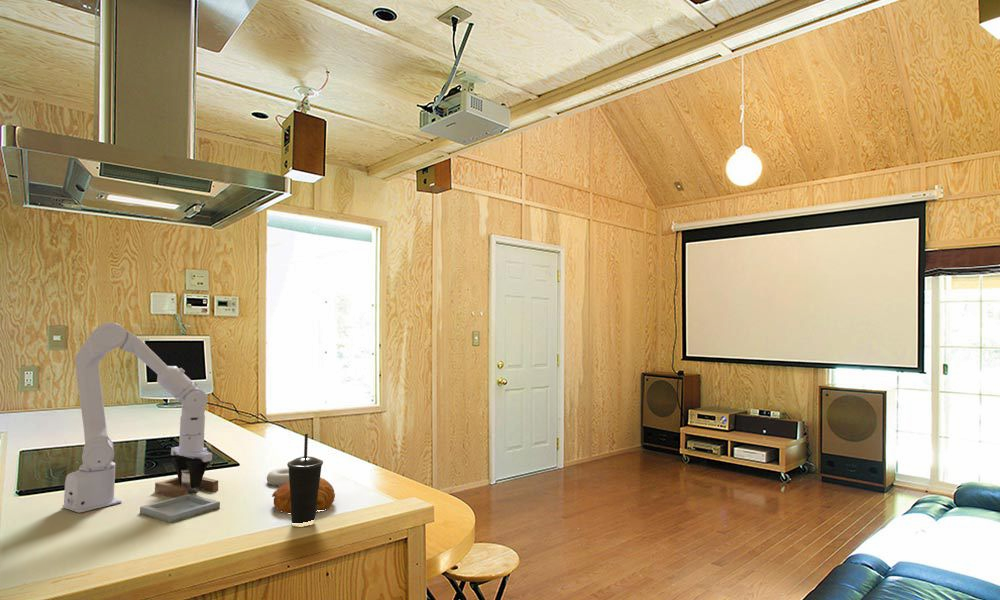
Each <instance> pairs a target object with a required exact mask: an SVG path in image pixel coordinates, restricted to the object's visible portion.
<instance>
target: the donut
mask: <svg viewBox="0 0 1000 600" xmlns="http://www.w3.org/2000/svg"><path fill="white" fill-rule="evenodd" d="M266 481H267V483H268V485H269V484H270V485H271V486H274V487H280V486H281V485H283V484H285V483H287V482H289V467H280V468H276V469H273V470H271V471H269V472H268V474H267V476H266Z"/></svg>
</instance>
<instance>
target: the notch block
mask: <svg viewBox="0 0 1000 600" xmlns="http://www.w3.org/2000/svg"><path fill="white" fill-rule="evenodd" d="M198 489H202V490H205V491H209V492H216V491H219V480H217V479H213V478H209V477H205V476H203V478H202V481H201V484H200V487H198ZM154 493H155V494H159V495H162V496H166V497H170V498H175V497H179V496H183V495H187V494H188V488H185V487H181V485H180V483H179V479H178V477H173V478H171V479H166V480H162V481H158V482H154Z"/></svg>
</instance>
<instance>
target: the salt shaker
mask: <svg viewBox="0 0 1000 600" xmlns="http://www.w3.org/2000/svg"><path fill="white" fill-rule="evenodd" d="M181 472H182V480H181V487H185V488H188V494H192V495H194V494H197V493H199V488H198V487H196V488H191V485H190V473H189V469H188V467H187V468H183V469H181ZM193 493H194V494H193Z"/></svg>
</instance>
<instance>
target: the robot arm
mask: <svg viewBox="0 0 1000 600" xmlns="http://www.w3.org/2000/svg"><path fill="white" fill-rule="evenodd" d="M119 347H120V351H124V352H127V353H131V354H134V355H135V356H136V357H137V358H138V359H139V360H141V361H142V362H143V363H144V364H145V365H146V366H147V367H149V369H151V370H152V371H153V372H154V373H155V374H156V375H157V379H156V383H157V384H159V385H160V386H161V387H162V388H163V389H165V390H166V392H168V393H169V394H170V395H171V396H172V397H173V398H174V399H176V400H179V403H180V405H182V406H181V415H180V421H179V439H178V441H179V443H178V446H175V447H171V448H170V449H171V450H170V455H171V456H176V457H174V458H171V460H170V461H171V463H172V465H173V466H174V468H175V472H176V474H177V478H178V479H179V483H180V485H181V480H182V472H181V469H183V468H187V467H188V469H189V473H190V485H191V488H196V487H200V484H201V481H202V478H203V477H204V474H205V472H206V470H207V468H208V467H209V465H210V463H211V461H213V453H212V452H210V451H208V447H204V446H205V426H206V425H205V422H206V415H205V411H206V409H205V407H206V406H207V404H208V401H209V399H208V397H207V394H206V393H205V392H204V391H203V390H202V389H201V387H200V386H198V385H199V383H197V381H193V380H192V379H190V377H189V376H188V375H186V374H185V372H186V370H185V369H183V368H182V367H180V368H179V367H178V366H177V365H167V364H166V363H165V362H164V361H163V360H162V359H161V358H160V357H159V356H158V354H156V353H155V352H154V351H153V350H152V349H151V348H150V347H149V346H148V345H147V344H146V343H145V342H144V341H142V339H141V338H139V337H138V336H136V335H135V334H134V333H131V332H130V331H129V330H127V329H125V328H124V327H123V326H122V325H120V324H119V323H116V322H112V321H110V322H105V323H103V324H101V325H99V326H98V327H96V328H95V329H94V330H92V331H91V332H90V334H89V335H88V337H87V338H86V339H85V341H84V343H83V344H82V345H81V347H80V349H79V350H78V351H77V353H76V354H75V356H74V357H75V358H74V363H75V371H76V372H75V373H76V378H77V379H76V380H77V385H78V394H79V402H80V410H81V411H80V412H81V417H82V426H83V437H84V445H83V448H82V455H81V462H82V464H80V465H79V467H78V468H79V469H77V470H76V471H73V472H70V473H68V474H67V475H66V477H65V481H64V494H63V495H64V497H63V498H64V499H63V505H61V507H62V508H63V509H67V510H69V511H72V512H76V513H85V512H88V511H93V510H96V509H102V508H105V507H107V506H112V505H117V504H120V503H122V502H123V501H122V499H119V498H114V497H115V485H116V484H115V480H116V462H114V461H113V460H114V458H115V451H114V448H115V446H114V442H113V441H112V440H111V438H110V437H109V436H108V429H107V421H106V412H105V407H104V398H103V390H102V384H101V383H102V382H101V374H100V373H101V372H100V367H99V363H100V362H101V360H103V359H104V357H106V356H107V355H108V353H109V352H111V351H114V350H116V349H118V348H119Z"/></svg>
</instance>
